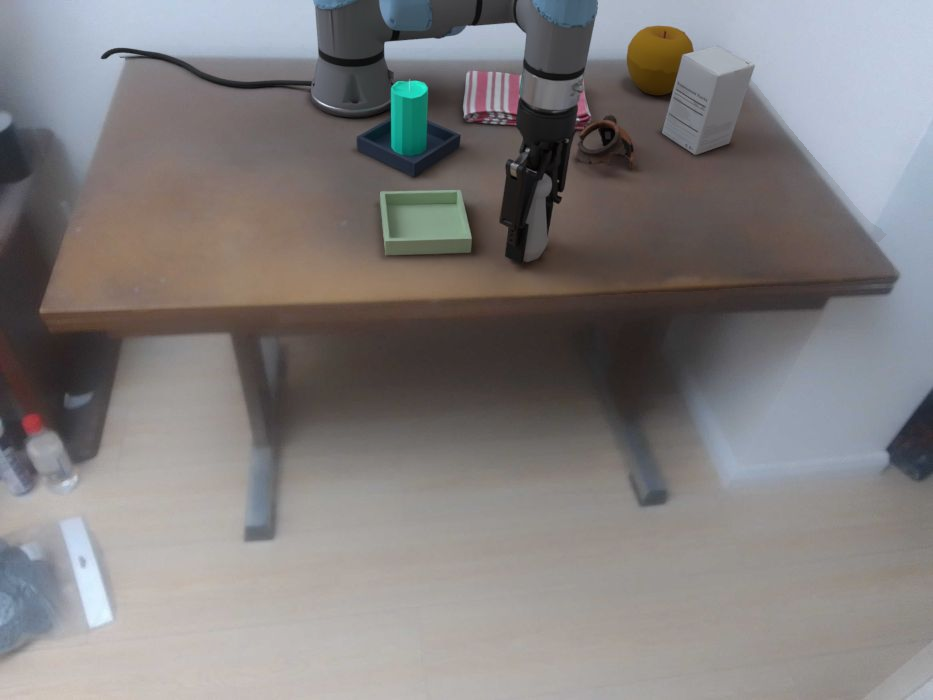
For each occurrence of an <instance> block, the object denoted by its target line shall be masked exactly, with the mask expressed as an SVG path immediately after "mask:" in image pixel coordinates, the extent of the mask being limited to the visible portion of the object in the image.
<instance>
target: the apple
mask: <svg viewBox="0 0 933 700" xmlns="http://www.w3.org/2000/svg"><path fill="white" fill-rule="evenodd" d="M694 50H695V49H694V46H693V42H692V40H691V39H690V38H689V36H688V35H687V33H686V32H685V31H683V30H681V29H679V28H677V27H673V26H668V25H653V26H651V25H650V26H646V27H644V28H642V29H640V30H639V31H637V32H636V33H635V35H634V36H633V37H632V38H631V40H630V42H629V44H628V45H627V53H626V66H627V70H628V74H629V76H630V78H631V80H632V83H633V84H634V85H635V86H636V88H638V90H640V91H642V92H643V93H645V94H647V95H651V96H665V95H667V94H670V93H672V92H673V89H674V86H675V82H676V78H677V74H678V70H679V67H680V63H681V59H682V55H683V54H687V53H691V52H695V51H694Z"/></svg>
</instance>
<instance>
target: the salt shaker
mask: <svg viewBox="0 0 933 700" xmlns="http://www.w3.org/2000/svg"><path fill="white" fill-rule="evenodd" d="M533 172H534V171H533ZM535 173H537V172H535ZM551 188H552V181H551V178H550V177H549V176H548V175H547V174H546V173H544V176H543V179H542V180H540V181H538V183H537V187H536V190H535V194H534V197H533V200H532V204H531V207H530V210H529V214H528V217H527V220H526V223H527V224H529V227H528V234H527V240H526V247H525V253H524V260H523V262H526V263H529V262H531V261H534V260H538V259H539V258H540V257H541V255H542V253H543V252H544V251H545V249H546V247H547V245H548V243H549V241H548V238H547V221H546V198H545V197H547V196H548V195H549V193H550V191H551Z"/></svg>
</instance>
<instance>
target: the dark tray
mask: <svg viewBox="0 0 933 700" xmlns="http://www.w3.org/2000/svg"><path fill="white" fill-rule="evenodd" d="M461 136H462V134H460V133H458V132H455V131H453V130H451V129H449V128H446V127H445V126H442V125H440V124H438V123H436V122H433V121H430V120H428V119H427V142H426V150H425V151H424V152H422V153H421V154H418V155H413V156H409V155H401V154H399V153H397V152H395V151H394V150H393V149H392V147H391V117H390V118H387V119H386V120H384V121H382V122H380V123H379V124H377V125H375V126H373V127H371V128H369V129H368V130H366V131H365V132H363V133H361V134H359V135H358V136H356V147H357V148H356V149H357V151H358V152H360V153H362V154H364V155H366V156H368V157H370V158H372V159H374V160H376V161H379V162H381V163H383V164H385V165H387V166H388V167H392V168H393V169H395V170H398V171H400V172H402V173H404V174H406V175H408V176H411V177H412V178H416V177H418V176H419V175H421V174H423V173H424V172H425V171H427V170H428V169H430V168H431V167H433V166H435V165H436V164H437V163H439V162H441V161H442V160H444V159H445V158H447V157H449V156H450V155H452V154H453V153H454V152H456V151H458V150H459V149H460V148H461V138H462V137H461Z"/></svg>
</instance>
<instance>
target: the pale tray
mask: <svg viewBox="0 0 933 700" xmlns="http://www.w3.org/2000/svg"><path fill="white" fill-rule="evenodd" d="M379 193H380V194H379V202H380V203H379V204H380V205H379V207H380V217H381V227H382V236H383V245H384V246H383V248H384V255H385V256H411V255H412V256H413V255H415V256H417V255H441V254H444V255H445V254H471V253H472V244H473V243H472V242H473V241H472V240H473V237H472V232H471V227H470V223H469V221H468V216H467V210H466V205H465V202H464V198H463V194H462V190H461V189H442V190H441V189H439V190H438V189H437V190H436V189H435V190H393V191H392V190H390V191H389V190H388V191H386V190H385V191H380V192H379Z"/></svg>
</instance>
